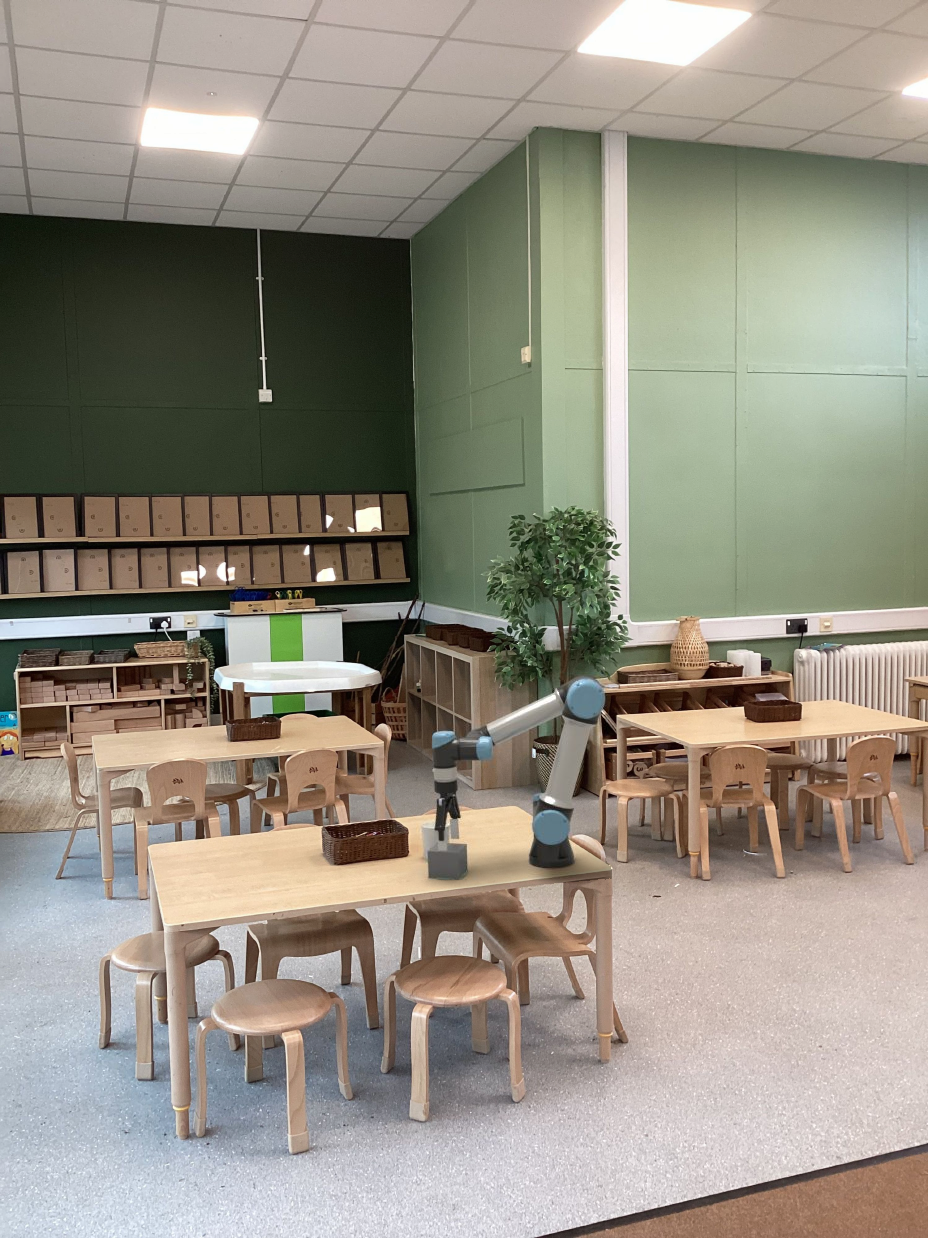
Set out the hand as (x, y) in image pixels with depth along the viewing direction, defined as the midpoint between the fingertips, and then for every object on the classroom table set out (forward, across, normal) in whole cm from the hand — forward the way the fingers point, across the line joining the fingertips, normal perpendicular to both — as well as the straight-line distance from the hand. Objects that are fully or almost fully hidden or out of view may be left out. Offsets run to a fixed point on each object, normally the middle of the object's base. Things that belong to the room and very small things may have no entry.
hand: (449, 844), depth 349 cm
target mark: (+10, 0, -1) cm, 10 cm away
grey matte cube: (+10, 0, -1) cm, 10 cm away
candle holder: (+10, -16, -10) cm, 21 cm away
